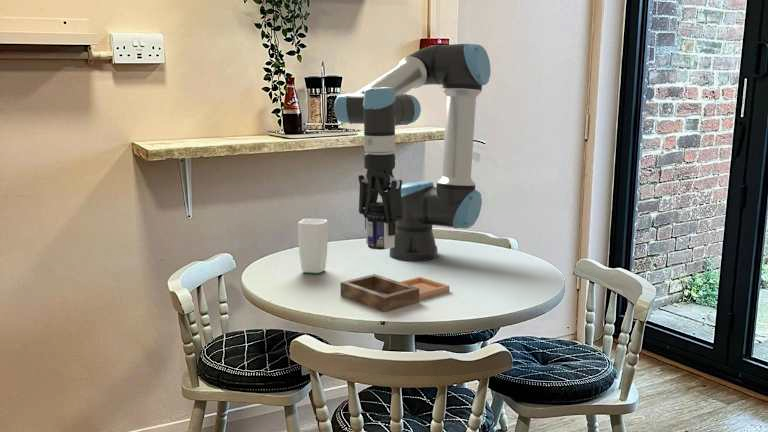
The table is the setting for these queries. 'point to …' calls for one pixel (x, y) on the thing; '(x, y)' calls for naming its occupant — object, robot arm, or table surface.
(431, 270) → the table surface
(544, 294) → the table surface
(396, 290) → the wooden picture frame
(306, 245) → the cup
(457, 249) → the table surface
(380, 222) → the pill bottle
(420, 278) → the tray
